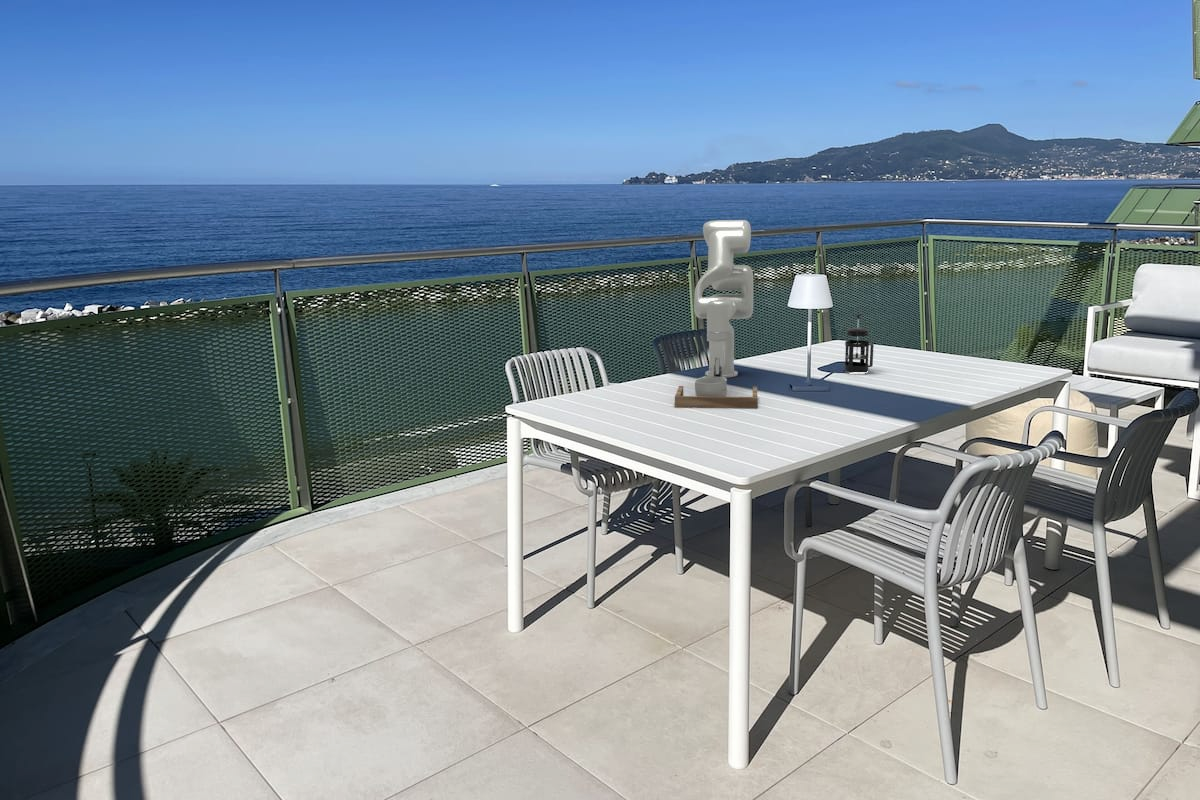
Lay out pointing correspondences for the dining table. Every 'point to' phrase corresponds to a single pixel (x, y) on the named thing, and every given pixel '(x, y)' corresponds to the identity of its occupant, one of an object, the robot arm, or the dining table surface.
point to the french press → (857, 343)
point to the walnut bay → (715, 401)
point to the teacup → (711, 386)
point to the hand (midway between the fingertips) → (717, 388)
